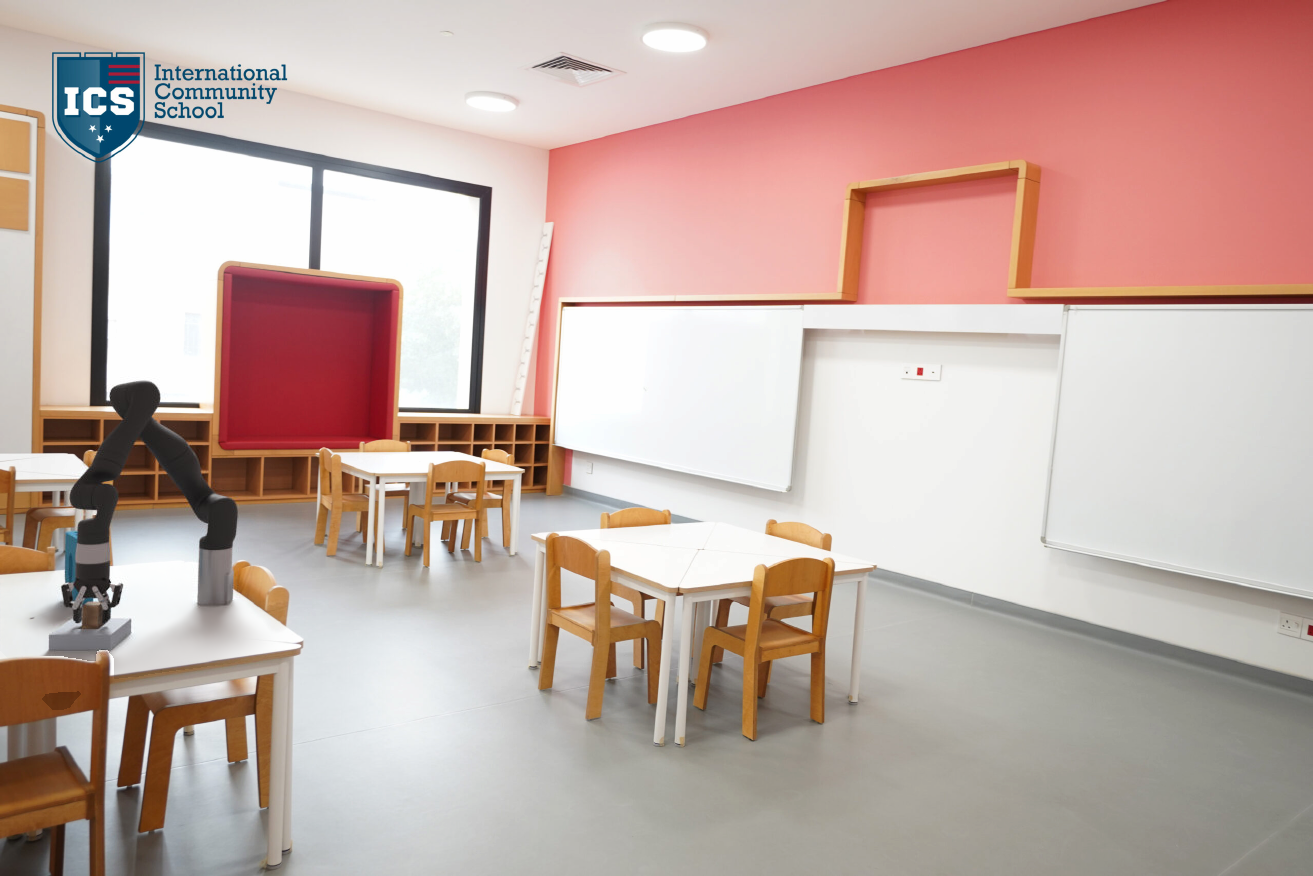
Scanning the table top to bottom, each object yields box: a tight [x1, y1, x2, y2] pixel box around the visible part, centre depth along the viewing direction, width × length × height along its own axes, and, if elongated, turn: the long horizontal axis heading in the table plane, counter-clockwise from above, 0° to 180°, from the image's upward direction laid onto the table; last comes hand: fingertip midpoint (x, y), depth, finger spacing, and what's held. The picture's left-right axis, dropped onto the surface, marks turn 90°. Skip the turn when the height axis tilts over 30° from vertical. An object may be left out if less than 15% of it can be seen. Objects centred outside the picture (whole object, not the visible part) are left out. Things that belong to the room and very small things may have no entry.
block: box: [64, 530, 95, 605], centre depth 258 cm, size 12×5×20 cm, turn 50°
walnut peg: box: [81, 601, 103, 629], centre depth 226 cm, size 4×4×10 cm
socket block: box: [48, 617, 132, 651], centre depth 226 cm, size 14×14×4 cm
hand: (91, 622), depth 226 cm, fingers open, 5 cm apart
